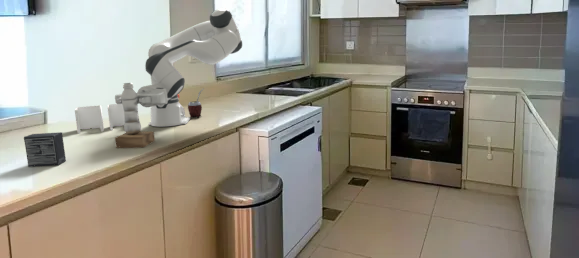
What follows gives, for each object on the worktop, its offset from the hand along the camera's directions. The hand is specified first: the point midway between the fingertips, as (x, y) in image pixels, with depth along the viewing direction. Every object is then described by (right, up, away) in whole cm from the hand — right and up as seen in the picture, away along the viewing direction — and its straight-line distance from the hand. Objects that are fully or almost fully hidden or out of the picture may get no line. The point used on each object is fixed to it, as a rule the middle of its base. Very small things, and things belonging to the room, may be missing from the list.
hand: (129, 101), depth 185 cm
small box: (-21, -23, -20) cm, 38 cm away
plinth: (+1, -17, +4) cm, 18 cm away
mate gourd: (+13, -5, +65) cm, 66 cm away
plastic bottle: (0, -13, +4) cm, 13 cm away
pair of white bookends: (-25, -11, +43) cm, 51 cm away
